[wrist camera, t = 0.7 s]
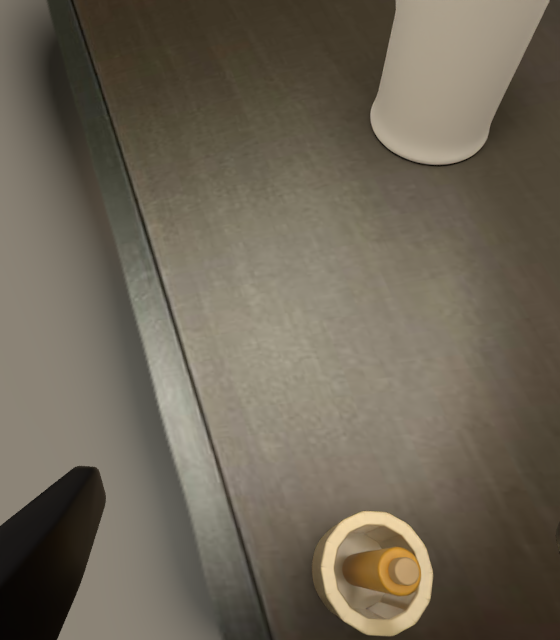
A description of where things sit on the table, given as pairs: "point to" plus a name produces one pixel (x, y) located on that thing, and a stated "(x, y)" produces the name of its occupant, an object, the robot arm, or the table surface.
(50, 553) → the robot arm
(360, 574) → the pencil
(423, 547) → the pencil cup
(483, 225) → the table surface
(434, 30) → the mug
